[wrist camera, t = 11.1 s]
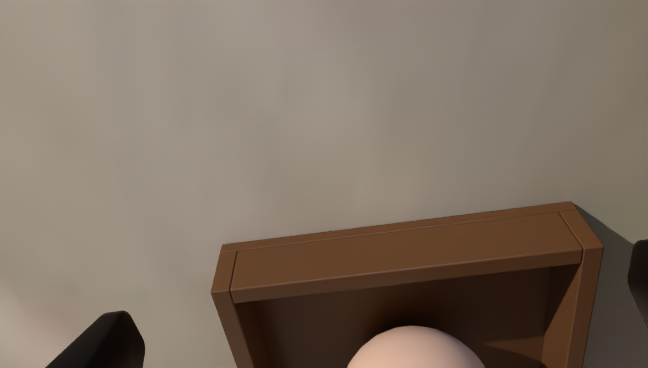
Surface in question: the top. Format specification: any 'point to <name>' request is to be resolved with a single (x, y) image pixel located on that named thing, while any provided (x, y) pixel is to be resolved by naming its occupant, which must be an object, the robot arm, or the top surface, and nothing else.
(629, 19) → the top surface
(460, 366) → the egg
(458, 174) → the top surface
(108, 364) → the robot arm
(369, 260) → the tray
